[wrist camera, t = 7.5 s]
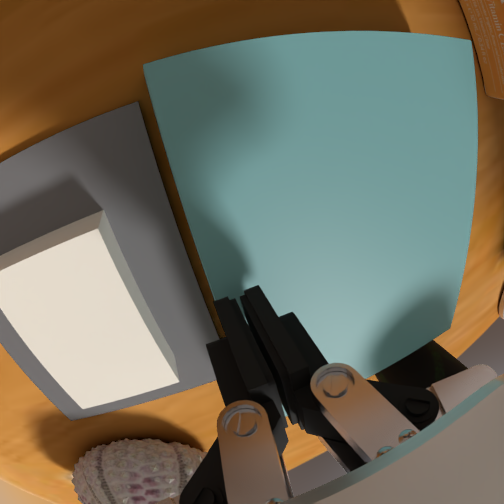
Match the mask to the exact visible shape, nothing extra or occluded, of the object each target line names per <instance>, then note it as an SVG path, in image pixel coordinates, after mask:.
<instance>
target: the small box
mask: <svg viewBox="0 0 504 504" xmlns="http://www.w3.org/2000/svg"><path fill="white" fill-rule="evenodd" d="M459 2H460V4H461V7H462V9H463V12H464V14H465V17H466V20H467V23H468V26H469V29H470V32H471V35H472V38H473V41H474V45H475V48H476V52H477V55H478V59H479V63H480V67H481V71H482V75H483V80H484V88H485V93H486V95H487V96H489V97H493V98H498V99H502V100H504V0H459Z"/></svg>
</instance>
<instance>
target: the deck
mask: <svg viewBox="0 0 504 504" xmlns="http://www.w3.org/2000/svg"><path fill="white" fill-rule="evenodd" d="M143 70H144V76H145V80H146V84H147V88H148V91H149V95H150V99H151V102H152V106H153V110H154V113H155V117H156V120H157V124H158V127H159V131H160V134H161V138H162V141H163V144H164V148H165V151H166V155H167V158H168V161H169V164H170V168H171V171H172V174H173V178H174V181H175V184H176V187H177V190H178V194H179V197H180V200H181V203H182V206H183V209H184V212H185V215H186V218H187V222H188V225H189V228H190V231H191V234H192V237H193V240H194V243H195V246H196V249H197V251H198V254H199V257H200V260H201V263H202V266H203V269H204V272H205V275H206V278H207V280H208V283H209V286H210V289H211V292H212V294H213V297H214V300H215V301H216V300H219V299H221V298H224V297H227V296H228V298H229V300H231V299H234V298H235V299H236V301H237V303H238V305H239V307H240V309H241V311H242V314H243V316H244V318H245V320H246V317H245V314H244V310H243V307H242V304H241V301H240V296H242V295H244V290H246V289H249V288H251V287H254V286H257V285H259V286H260V288H261V289H262V291H263V293H264V294H265V296H266V297H267V299H268V301H269V302H270V304H271V306H272V307H273V309H274V310H275V312H276V314H277V315H278V317H280V316H282V315H285V314H287V313H290V312H293V313H294V314H295V315H296V316H297V318H298V319H299V321H300V322H301V324H302V325H303V327H304V328H305V330H306V331H307V333H308V334H309V335H310V337H311V338H312V340H313V341H314V343H315V344H316V346H317V347H318V349H319V350H320V352H321V353H322V354H323V356H324V357H325V359H326V360H327V362H328V363H329V364H330V363H344V364H347V365H350V366H351V367H352V368H354V369H355V370H356V371H357V372H358V373H359V374H360V375H361V376H362V377H364V378H365V379H366V378H368V377H370V376H372V375H374V374H376V373H378V372H379V371H381V370H383V369H385V368H387V367H388V366H390V365H392V364H394V363H395V362H397V361H399V360H401V359H402V358H404V357H406V356H407V355H409V354H411V353H412V352H414V351H416V350H417V349H419V348H420V347H422V346H424V345H425V344H427V343H428V342H430V341H431V340H433V339H435V338H436V337H438V336H439V335H441V334H442V333H444V332H445V331H447V330H448V329H450V327H451V323H452V319H453V316H454V312H455V308H456V304H457V300H458V296H459V292H460V287H461V283H462V278H463V273H464V268H465V263H466V258H467V252H468V246H469V240H470V233H471V226H472V218H473V210H474V200H475V189H476V175H477V154H478V111H477V91H476V78H475V67H474V58H473V50H472V43H471V40H466V39H460V38H453V37H446V36H438V35H429V34H419V33H407V32H389V31H331V32H313V33H300V34H289V35H280V36H271V37H264V38H257V39H250V40H244V41H238V42H232V43H227V44H222V45H217V46H212V47H207V48H203V49H198V50H194V51H190V52H186V53H182V54H178V55H174V56H170V57H167V58H163V59H160V60H156V61H153V62H150V63H146V64H143ZM246 322H247V320H246ZM247 324H248V323H247ZM281 404H282V403H281ZM282 407H283V405H282ZM283 411H284V414H285V416H288V415H287V413H286V411H285V409H284V407H283Z"/></svg>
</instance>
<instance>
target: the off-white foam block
mask: <svg viewBox="0 0 504 504" xmlns="http://www.w3.org/2000/svg"><path fill="white" fill-rule="evenodd" d="M0 308H1V310H2V311H3V313H4V314H5V316H6V317H7V319H8V320H9V322H10V323H11V325H12V326H13V327H14V329H15V330H16V332H17V333H18V334H19V336H20V337H21V338H22V340H23V341H24V342H25V344H26V345H27V346H28V348H29V349H30V350H31V351H32V353H33V354H34V355H35V356H36V358H37V359H38V360H39V361H40V363H41V364H42V365H43V366H44V367H45V369H46V370H47V371H48V372H49V373H50V374H51V376H52V377H53V378H54V379H55V380H56V381H57V382H58V384H59V385H60V386H61V387H62V388H63V389H64V390H65V391H66V392H67V393H68V395H69V396H70V397H71V398H72V399H73V400H74V401H75V402H76V403H77V404H78V405H79V406H80V407H81V408H82V409H86V408H90V407H94V406H98V405H102V404H106V403H110V402H113V401H117V400H121V399H124V398H128V397H132V396H135V395H139V394H142V393H146V392H149V391H152V390H156V389H159V388H162V387H165V386H169V385H172V384H175V383H178V382H179V377H178V372H177V367H176V362H175V357H174V354H173V352H172V351H171V349H170V347H169V345H168V343H167V342H166V340H165V338H164V336H163V334H162V332H161V331H160V329H159V327H158V325H157V323H156V321H155V319H154V317H153V315H152V314H151V312H150V310H149V308H148V306H147V304H146V302H145V300H144V298H143V296H142V294H141V292H140V290H139V288H138V286H137V284H136V282H135V279H134V277H133V275H132V273H131V271H130V269H129V267H128V265H127V262H126V260H125V258H124V256H123V254H122V252H121V249H120V247H119V245H118V243H117V240H116V238H115V236H114V233H113V231H112V229H111V226H110V224H109V222H108V219H107V217H106V214H105V212H104V210H102V211H100V212H97V213H95V214H92V215H90V216H87V217H85V218H82V219H80V220H78V221H75V222H73V223H71V224H68V225H66V226H63V227H61V228H59V229H57V230H54V231H52V232H50V233H48V234H45V235H43V236H41V237H39V238H36V239H34V240H32V241H30V242H28V243H26V244H23V245H21V246H19V247H17V248H15V249H13V250H11V251H9V252H7V253H5V254H3V255H1V256H0Z"/></svg>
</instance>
